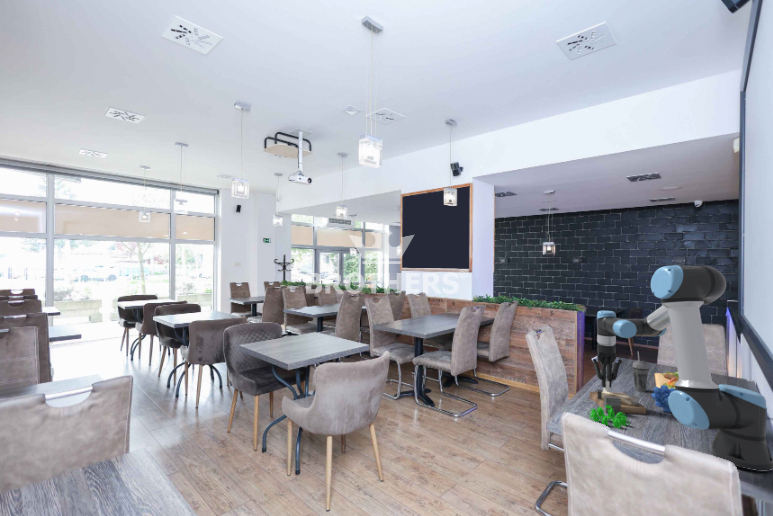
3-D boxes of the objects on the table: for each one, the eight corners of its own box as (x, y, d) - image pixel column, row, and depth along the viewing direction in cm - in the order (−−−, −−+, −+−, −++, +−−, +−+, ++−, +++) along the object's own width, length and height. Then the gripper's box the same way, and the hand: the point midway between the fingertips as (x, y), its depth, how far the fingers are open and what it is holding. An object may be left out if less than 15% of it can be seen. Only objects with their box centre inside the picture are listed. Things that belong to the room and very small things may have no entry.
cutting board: (718, 403, 176) (718, 387, 176) (657, 393, 189) (657, 378, 189) (706, 383, 205) (706, 369, 205) (654, 375, 218) (654, 362, 218)
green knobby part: (593, 412, 165) (593, 396, 165) (633, 422, 155) (633, 406, 155) (583, 422, 154) (583, 406, 154) (625, 435, 144) (625, 417, 144)
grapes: (652, 413, 163) (652, 386, 163) (650, 407, 169) (651, 381, 169) (685, 419, 157) (686, 391, 157) (683, 413, 163) (683, 386, 163)
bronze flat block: (647, 416, 160) (647, 399, 160) (606, 413, 162) (606, 398, 162) (624, 399, 179) (624, 384, 179) (587, 397, 181) (587, 383, 181)
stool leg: (639, 404, 165) (639, 397, 165) (638, 406, 162) (638, 399, 162) (598, 396, 175) (598, 389, 175) (597, 398, 172) (597, 391, 172)
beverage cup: (651, 393, 187) (652, 353, 187) (635, 392, 189) (635, 352, 189) (644, 388, 194) (645, 350, 194) (629, 387, 196) (629, 349, 196)
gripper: (617, 342, 177) (617, 391, 177) (588, 341, 178) (588, 390, 178) (625, 346, 169) (625, 397, 169) (595, 345, 171) (595, 396, 171)
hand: (606, 394), depth 174 cm, fingers closed
